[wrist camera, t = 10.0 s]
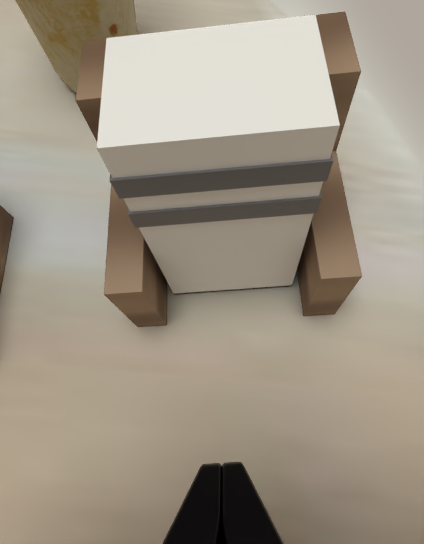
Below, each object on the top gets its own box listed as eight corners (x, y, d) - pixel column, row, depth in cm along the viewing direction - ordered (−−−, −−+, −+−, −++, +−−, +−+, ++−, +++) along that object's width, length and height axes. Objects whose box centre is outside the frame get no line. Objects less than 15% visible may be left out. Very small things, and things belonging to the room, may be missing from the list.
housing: (334, 314, 19) (401, 222, 11) (137, 326, 20) (57, 249, 11) (309, 167, 22) (345, 11, 14) (142, 181, 23) (82, 41, 15)
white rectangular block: (293, 286, 20) (343, 127, 9) (171, 294, 20) (93, 151, 10) (284, 214, 21) (318, 12, 11) (171, 223, 21) (103, 36, 11)
